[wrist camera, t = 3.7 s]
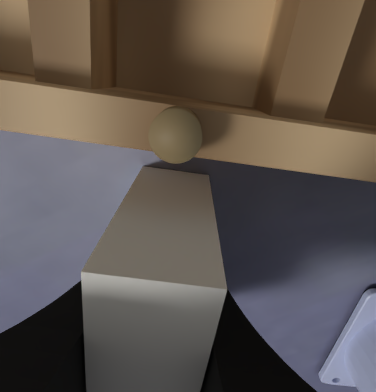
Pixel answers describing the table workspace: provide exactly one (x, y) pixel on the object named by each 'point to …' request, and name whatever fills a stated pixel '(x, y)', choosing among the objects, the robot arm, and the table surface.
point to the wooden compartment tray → (198, 79)
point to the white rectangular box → (154, 288)
